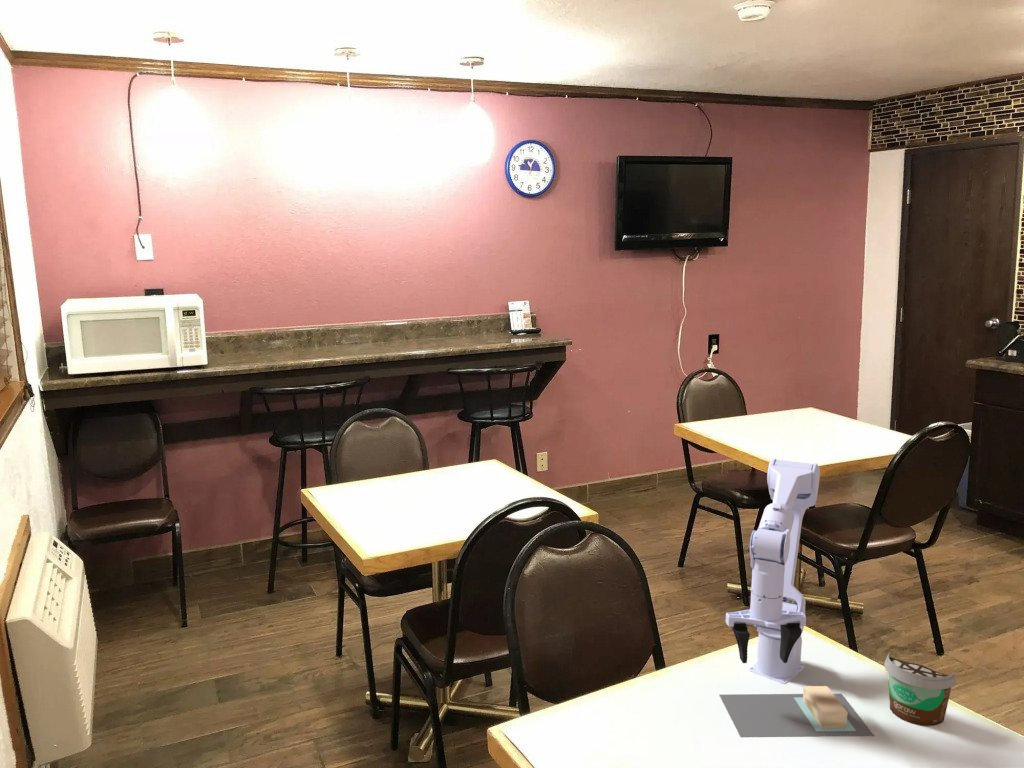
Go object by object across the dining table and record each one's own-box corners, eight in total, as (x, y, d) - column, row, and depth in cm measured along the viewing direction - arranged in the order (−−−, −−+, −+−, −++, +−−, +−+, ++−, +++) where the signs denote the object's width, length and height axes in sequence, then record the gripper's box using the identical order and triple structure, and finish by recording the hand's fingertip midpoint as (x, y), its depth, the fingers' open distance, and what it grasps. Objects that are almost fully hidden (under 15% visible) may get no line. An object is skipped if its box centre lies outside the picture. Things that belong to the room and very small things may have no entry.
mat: (841, 695, 158) (841, 693, 158) (874, 738, 144) (874, 735, 144) (719, 696, 158) (719, 694, 158) (740, 739, 144) (740, 736, 144)
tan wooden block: (802, 700, 155) (803, 686, 155) (826, 700, 156) (827, 685, 155) (821, 727, 147) (822, 712, 146) (846, 727, 147) (847, 712, 146)
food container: (871, 712, 153) (875, 662, 151) (882, 699, 157) (886, 650, 156) (942, 738, 144) (947, 686, 143) (952, 724, 149) (957, 673, 147)
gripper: (734, 601, 147) (731, 671, 149) (814, 601, 147) (809, 670, 149) (723, 585, 154) (720, 652, 156) (799, 585, 154) (795, 652, 156)
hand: (763, 660), depth 153 cm, fingers open, 7 cm apart
